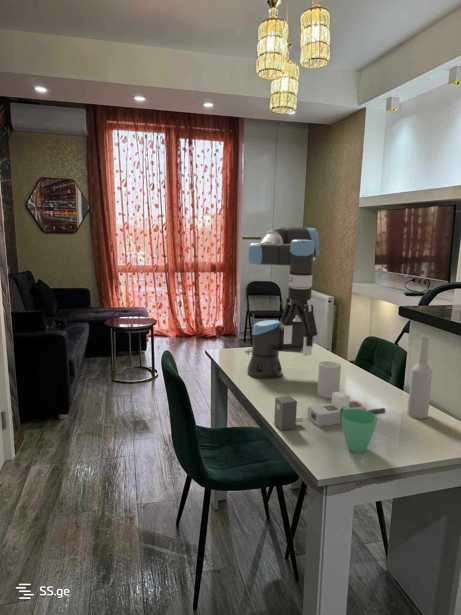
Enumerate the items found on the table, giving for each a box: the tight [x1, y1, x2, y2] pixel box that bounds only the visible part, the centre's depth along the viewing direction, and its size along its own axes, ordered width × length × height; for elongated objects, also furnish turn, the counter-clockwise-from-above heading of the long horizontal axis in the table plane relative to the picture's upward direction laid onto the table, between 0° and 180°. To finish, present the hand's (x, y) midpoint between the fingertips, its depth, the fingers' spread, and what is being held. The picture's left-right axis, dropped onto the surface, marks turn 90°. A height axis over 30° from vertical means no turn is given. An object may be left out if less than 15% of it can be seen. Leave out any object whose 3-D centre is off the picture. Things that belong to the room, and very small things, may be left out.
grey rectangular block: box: [273, 395, 304, 431], centre depth 135 cm, size 5×8×9 cm, turn 111°
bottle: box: [406, 334, 433, 420], centre depth 144 cm, size 7×7×28 cm
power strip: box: [307, 400, 386, 427], centre depth 143 cm, size 7×29×5 cm, turn 111°
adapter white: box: [331, 390, 350, 410], centre depth 141 cm, size 4×4×4 cm
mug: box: [341, 406, 378, 454], centre depth 124 cm, size 15×10×10 cm
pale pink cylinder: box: [316, 360, 342, 399], centre depth 163 cm, size 8×8×12 cm
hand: (296, 349), depth 144 cm, fingers open, 13 cm apart
